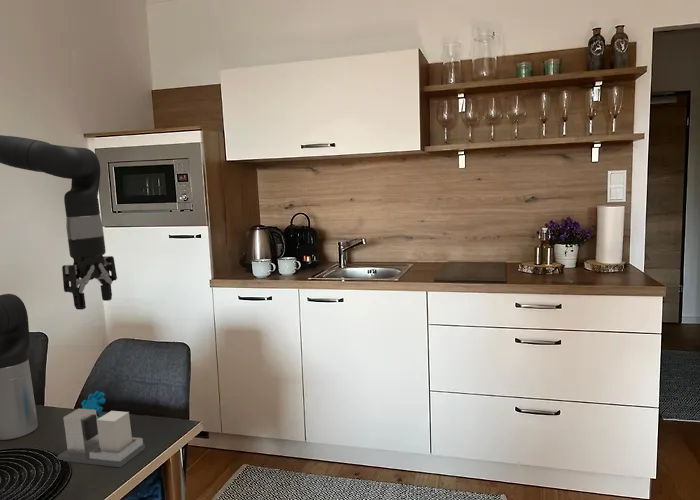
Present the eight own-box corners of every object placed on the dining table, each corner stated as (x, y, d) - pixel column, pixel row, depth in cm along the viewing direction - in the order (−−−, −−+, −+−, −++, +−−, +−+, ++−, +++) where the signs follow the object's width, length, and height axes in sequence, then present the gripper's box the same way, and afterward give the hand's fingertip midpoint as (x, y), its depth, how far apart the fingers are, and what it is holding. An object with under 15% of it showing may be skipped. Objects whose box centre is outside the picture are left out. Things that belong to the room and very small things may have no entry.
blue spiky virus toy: (66, 417, 137) (94, 383, 140) (86, 426, 141) (113, 393, 143) (76, 438, 129) (106, 401, 131) (97, 447, 132) (126, 412, 135)
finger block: (113, 445, 122) (109, 410, 121) (133, 447, 120) (128, 412, 119) (99, 455, 117) (94, 419, 116) (118, 457, 116) (114, 421, 115)
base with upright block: (57, 460, 119) (52, 420, 117) (85, 442, 126) (80, 404, 125) (120, 467, 114) (115, 425, 113) (145, 448, 122) (140, 409, 120)
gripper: (94, 232, 135) (102, 297, 138) (47, 239, 122) (57, 312, 124) (120, 231, 133) (128, 297, 135) (75, 239, 120) (85, 312, 122)
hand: (94, 304), depth 130 cm, fingers open, 8 cm apart
